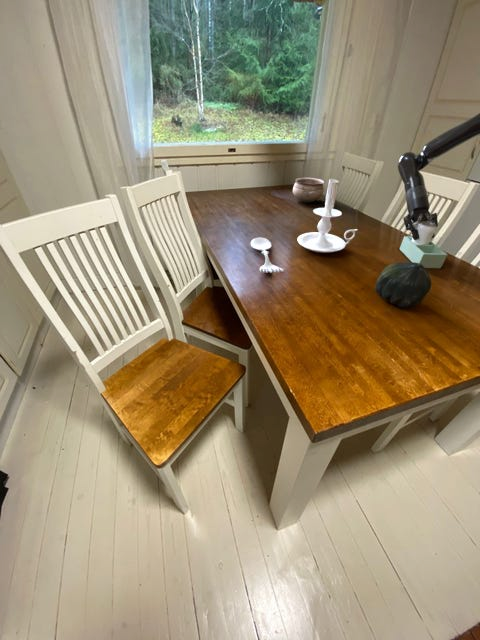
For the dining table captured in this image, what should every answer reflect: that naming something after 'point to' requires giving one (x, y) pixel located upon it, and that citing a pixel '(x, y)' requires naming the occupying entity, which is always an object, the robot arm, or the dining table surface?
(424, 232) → the can
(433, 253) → the divided box
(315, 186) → the cooking pot
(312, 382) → the dining table surface
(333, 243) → the candlestick
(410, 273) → the squash
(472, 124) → the robot arm
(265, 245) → the spoon
